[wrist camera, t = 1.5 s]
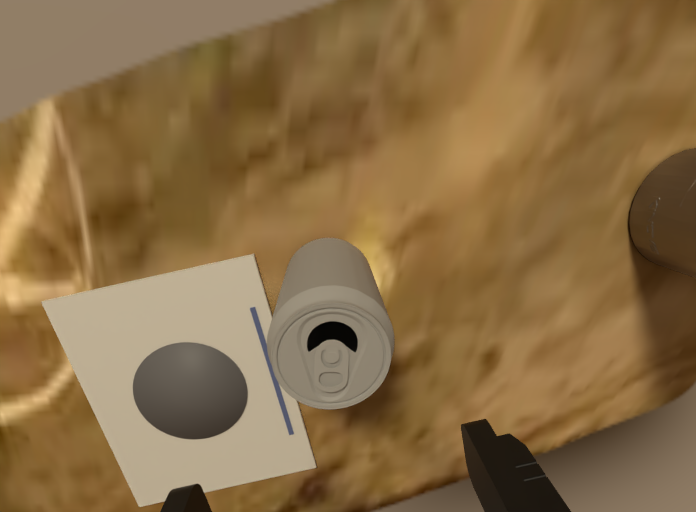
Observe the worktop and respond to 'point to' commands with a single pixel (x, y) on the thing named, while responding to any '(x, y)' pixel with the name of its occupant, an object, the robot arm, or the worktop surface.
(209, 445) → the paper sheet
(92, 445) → the worktop surface
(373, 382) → the beverage can
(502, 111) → the worktop surface
